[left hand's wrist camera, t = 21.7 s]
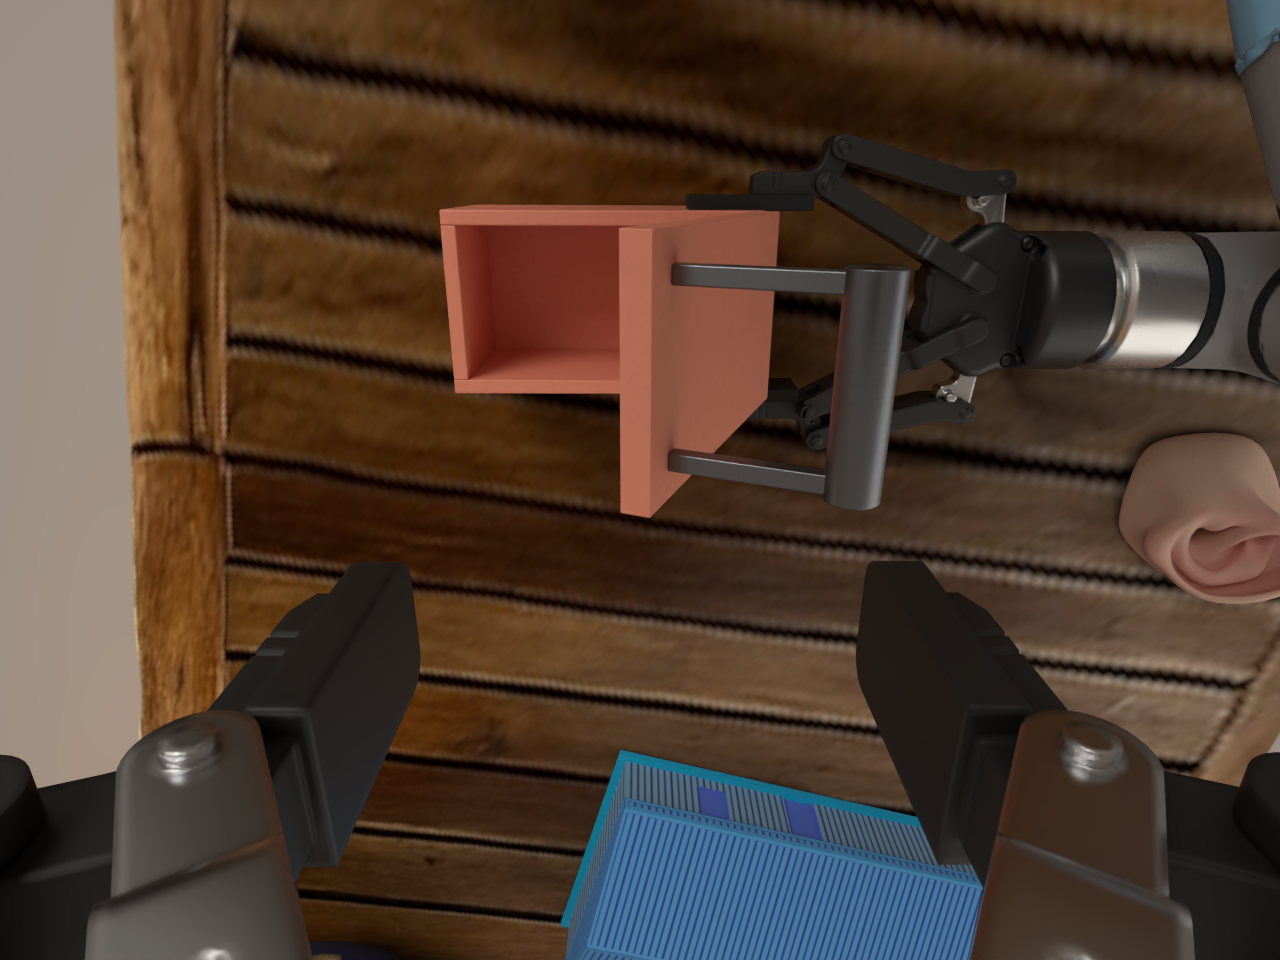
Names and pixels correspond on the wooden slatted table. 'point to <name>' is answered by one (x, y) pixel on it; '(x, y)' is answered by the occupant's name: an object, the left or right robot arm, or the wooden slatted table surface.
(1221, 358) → the right robot arm
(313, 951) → the globe
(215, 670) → the wooden slatted table surface
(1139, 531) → the anatomical model
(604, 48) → the wooden slatted table surface
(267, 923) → the left robot arm
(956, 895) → the model building
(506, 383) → the chest
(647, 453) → the lid
